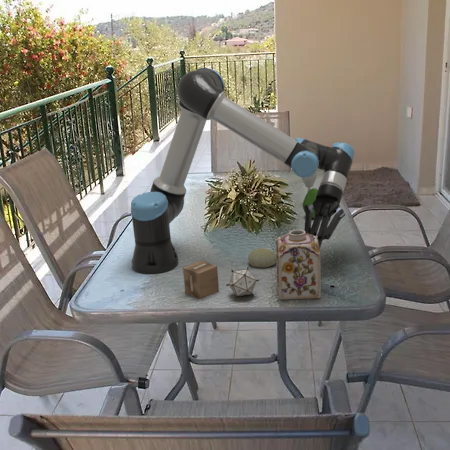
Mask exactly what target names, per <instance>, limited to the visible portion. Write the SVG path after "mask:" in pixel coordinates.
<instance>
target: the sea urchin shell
mask: <svg viewBox="0 0 450 450" xmlns="http://www.w3.org/2000/svg"><path fill="white" fill-rule="evenodd" d="M276 257H277V255H276V252H274V251H273V250H272V249H269V248H265V247H262V248H261V247H260V248H259V247H257V248H256V249H253V250H251V251H250V252H249V254H248V257H247V258H248V263H249V264H250V266H252V267H254V268H263V269H265V268H270V267H272V266H274V265H276V264H277V258H276Z"/></svg>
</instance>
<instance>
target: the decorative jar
mask: <svg viewBox="0 0 450 450" xmlns="http://www.w3.org/2000/svg"><path fill="white" fill-rule="evenodd" d="M317 237H318V236H317V235H316V236H313V235H311V234H308V233H306V232H305V231H304V230H303V229H292V230H291V231H289V232H288V233H286V234H283V235H281V236H278V237H277V238H276V241H275V249H276V250H275V254H276V255H277V257H276V258H277V261H276V282H277V284H276V285H277V293H278V298H279V300H280V301H281V300H283V301H285V300H286V301H287V300H306V299H307V300H309V299H310V300H311V299H313V300H314V299H320V298H321V296H322V277H321V276H322V274H321V273H322V272H321V271H322V268H321V267H322V266H321V265H322V264H321V262H322V261H321V260H322V259H321V247H320V248H319V244H318V239H317Z"/></svg>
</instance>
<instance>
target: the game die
mask: <svg viewBox="0 0 450 450" xmlns="http://www.w3.org/2000/svg"><path fill="white" fill-rule="evenodd" d="M249 269H250V268H249V266H247V268H245V269H241V270H235V271H234V270H233V269H231V270H230V271H231V273H232V274H231V276H230V279H229V282H228V283H226V284H225V286H227V287H228V286H229V287H230V289H231V291H232V292H233V293H234V295H235V296H236V297H235V299H236V300H237V299H238V298H239V297H242V296H247V295H251V296H254V293H253V291H254V289H255V286H256V284H257V282H259V281H260V279H256V278H255V276H254V275H253V274H252V273H251V272H250V270H249Z"/></svg>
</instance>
